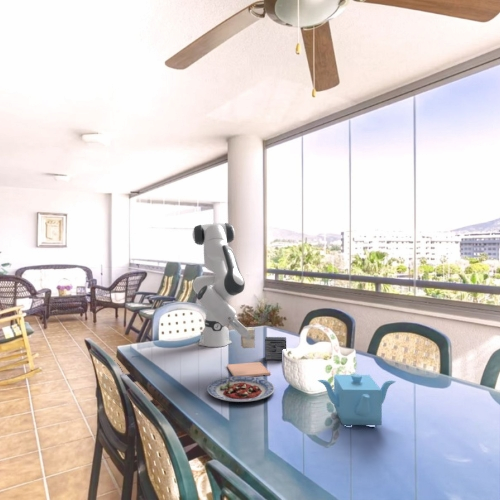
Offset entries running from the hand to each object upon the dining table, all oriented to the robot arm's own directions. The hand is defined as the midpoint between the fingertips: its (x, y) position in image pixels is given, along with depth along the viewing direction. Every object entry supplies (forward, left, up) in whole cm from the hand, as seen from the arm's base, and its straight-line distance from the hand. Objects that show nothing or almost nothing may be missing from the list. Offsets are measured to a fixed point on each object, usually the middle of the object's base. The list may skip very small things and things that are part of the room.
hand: (248, 336), depth 175 cm
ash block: (0, 0, -4) cm, 4 cm away
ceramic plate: (+24, -9, -16) cm, 30 cm away
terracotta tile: (0, 0, -15) cm, 15 cm away
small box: (-14, +18, -16) cm, 28 cm away
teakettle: (+58, +21, -16) cm, 64 cm away
